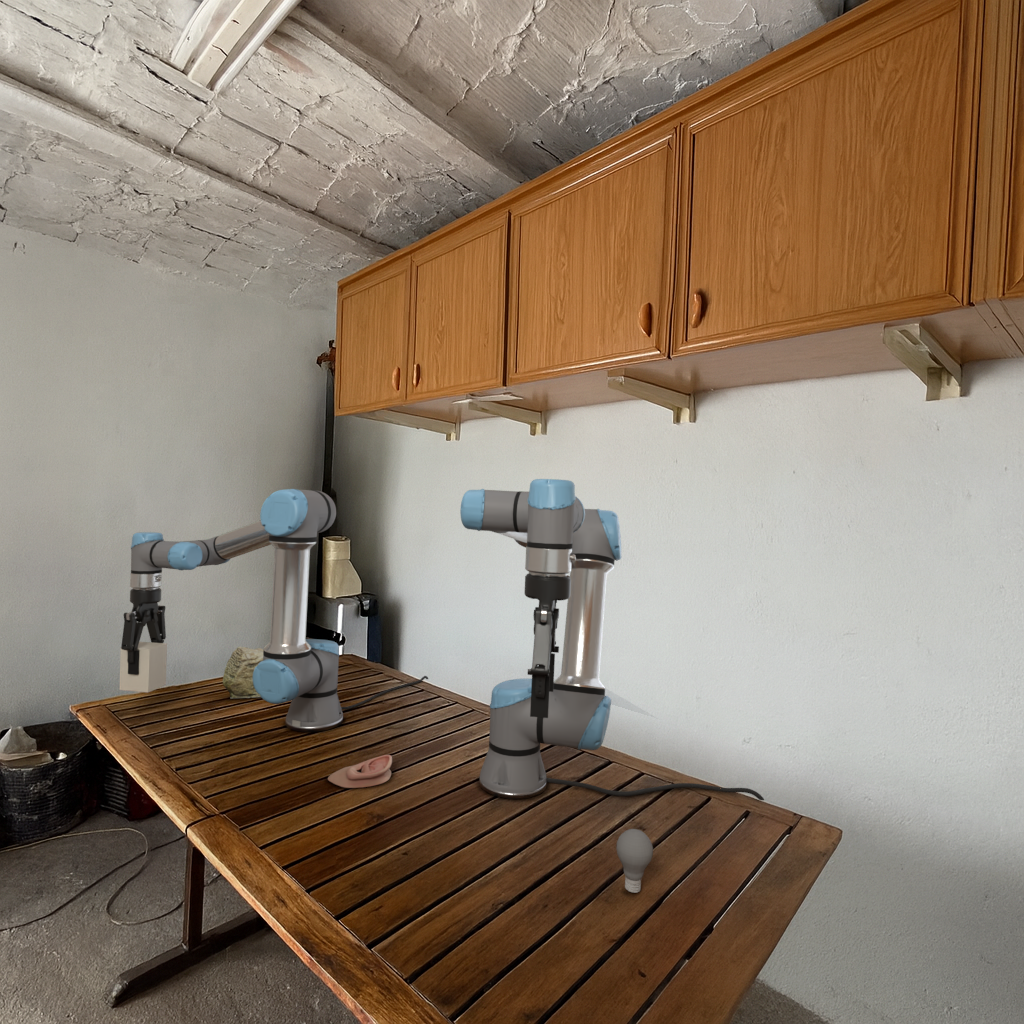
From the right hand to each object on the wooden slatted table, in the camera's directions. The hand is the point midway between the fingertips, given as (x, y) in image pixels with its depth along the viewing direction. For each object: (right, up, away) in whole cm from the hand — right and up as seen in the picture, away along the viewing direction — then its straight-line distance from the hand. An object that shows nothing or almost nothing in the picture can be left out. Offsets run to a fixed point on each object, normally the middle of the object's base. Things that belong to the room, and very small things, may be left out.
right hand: (542, 703), depth 104 cm
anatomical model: (-39, -29, +39) cm, 63 cm away
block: (-108, -18, +72) cm, 131 cm away
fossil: (-86, -26, +94) cm, 130 cm away
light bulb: (+15, -32, +2) cm, 35 cm away
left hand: (-107, -13, +72) cm, 130 cm away
